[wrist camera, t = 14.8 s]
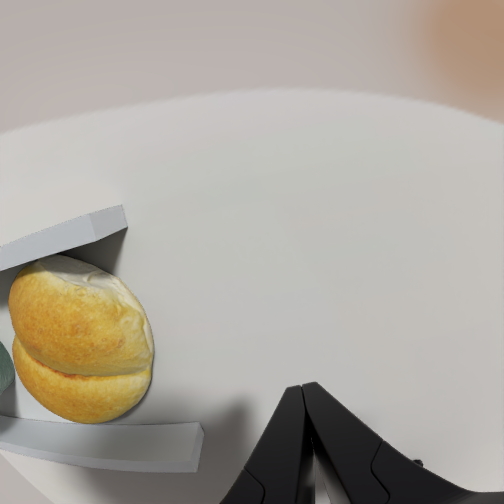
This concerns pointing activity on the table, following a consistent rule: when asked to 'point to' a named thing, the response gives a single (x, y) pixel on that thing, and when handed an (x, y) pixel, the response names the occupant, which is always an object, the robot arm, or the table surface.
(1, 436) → the u-shaped frame
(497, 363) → the table surface
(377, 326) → the table surface
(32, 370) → the bread roll
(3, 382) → the tea tin
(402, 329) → the table surface
